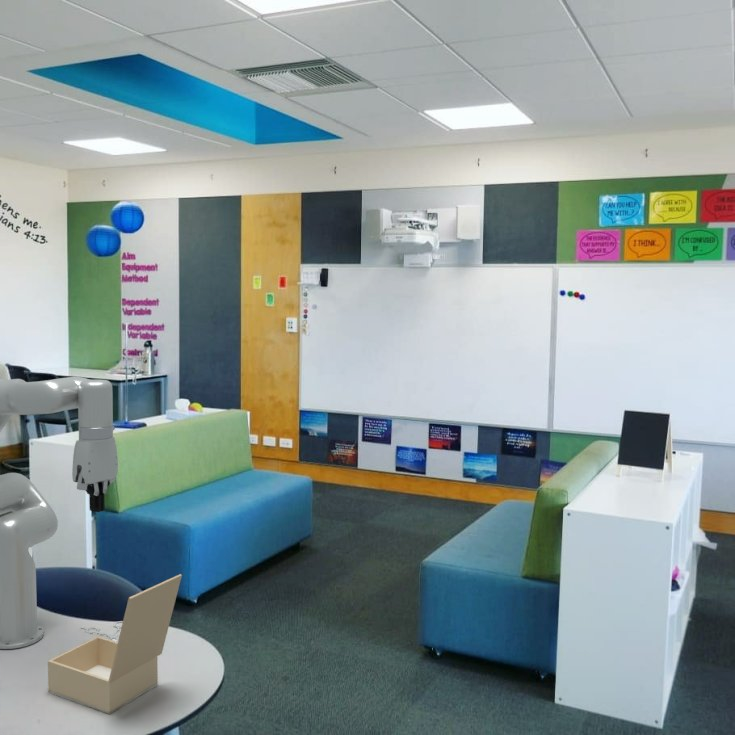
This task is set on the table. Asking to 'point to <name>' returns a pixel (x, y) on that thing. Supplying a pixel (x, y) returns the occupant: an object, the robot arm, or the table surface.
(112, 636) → the scissors
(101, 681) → the box
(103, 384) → the robot arm
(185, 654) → the table surface
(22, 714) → the table surface
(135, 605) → the lid
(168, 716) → the table surface
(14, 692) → the table surface
